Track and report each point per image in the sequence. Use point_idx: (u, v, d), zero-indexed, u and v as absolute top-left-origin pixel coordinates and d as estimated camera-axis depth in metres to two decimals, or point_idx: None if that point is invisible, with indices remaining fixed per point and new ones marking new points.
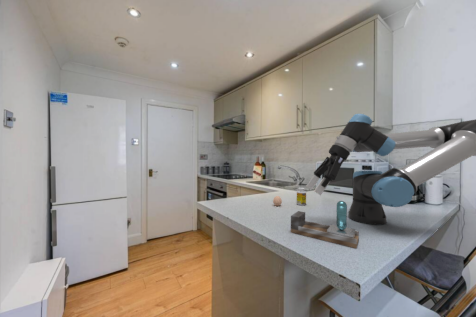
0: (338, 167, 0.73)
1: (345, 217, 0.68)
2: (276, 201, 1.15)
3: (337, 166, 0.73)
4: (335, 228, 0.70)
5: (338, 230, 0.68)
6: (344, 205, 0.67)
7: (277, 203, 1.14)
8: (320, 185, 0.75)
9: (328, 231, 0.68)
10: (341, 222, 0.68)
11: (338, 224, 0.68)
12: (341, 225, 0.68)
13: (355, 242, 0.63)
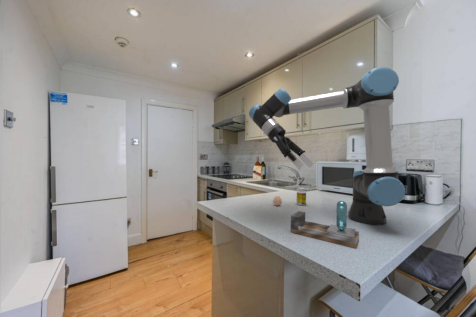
0: (280, 142, 0.77)
1: (345, 217, 0.68)
2: (276, 201, 1.15)
3: (279, 142, 0.77)
4: (335, 228, 0.70)
5: (338, 230, 0.68)
6: (344, 205, 0.67)
7: (277, 203, 1.14)
8: (293, 161, 0.74)
9: (328, 231, 0.68)
10: (341, 222, 0.68)
11: (338, 224, 0.68)
12: (341, 225, 0.68)
13: (355, 242, 0.63)
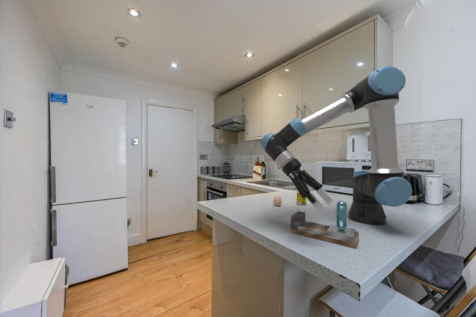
0: (297, 180, 0.70)
1: (345, 217, 0.68)
2: (276, 201, 1.15)
3: (296, 180, 0.70)
4: (335, 228, 0.70)
5: (338, 230, 0.68)
6: (344, 205, 0.67)
7: (277, 203, 1.14)
8: (313, 203, 0.67)
9: (328, 231, 0.68)
10: (341, 222, 0.68)
11: (338, 224, 0.68)
12: (341, 225, 0.68)
13: (355, 242, 0.63)
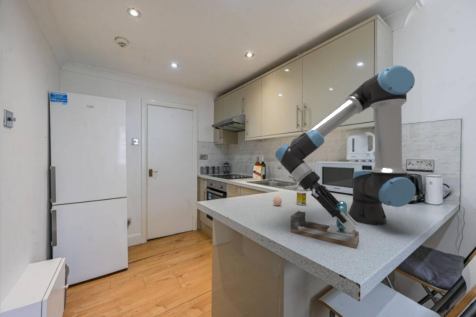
0: (324, 200, 0.67)
1: None
2: (276, 201, 1.15)
3: (322, 200, 0.67)
4: (335, 227, 0.71)
5: (338, 230, 0.68)
6: (344, 205, 0.67)
7: (277, 203, 1.14)
8: (343, 223, 0.66)
9: (328, 231, 0.68)
10: None
11: (338, 224, 0.68)
12: (341, 225, 0.68)
13: (355, 242, 0.63)
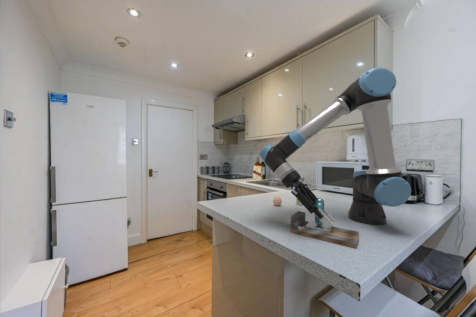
0: (302, 197, 0.71)
1: None
2: (276, 201, 1.15)
3: (301, 197, 0.72)
4: (314, 223, 0.75)
5: (316, 225, 0.73)
6: (321, 202, 0.72)
7: (277, 203, 1.14)
8: (320, 219, 0.71)
9: (307, 226, 0.73)
10: None
11: (316, 220, 0.73)
12: (318, 221, 0.72)
13: (355, 242, 0.63)
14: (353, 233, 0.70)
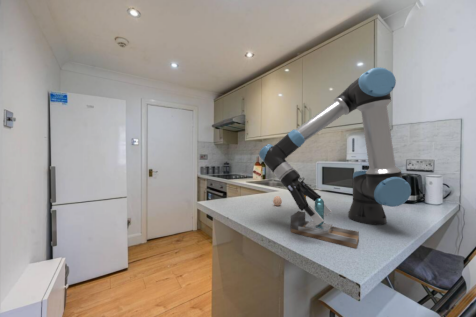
0: (295, 193, 0.71)
1: (322, 213, 0.72)
2: (276, 201, 1.15)
3: (294, 193, 0.71)
4: (313, 223, 0.75)
5: (316, 225, 0.73)
6: (321, 202, 0.72)
7: (277, 203, 1.14)
8: (311, 216, 0.68)
9: (306, 226, 0.73)
10: None
11: None
12: None
13: (355, 242, 0.63)
14: (353, 233, 0.70)
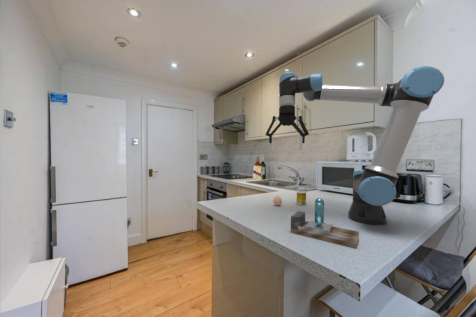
0: (270, 124, 0.94)
1: (322, 213, 0.72)
2: (276, 201, 1.15)
3: None
4: (313, 223, 0.75)
5: (316, 225, 0.73)
6: (321, 202, 0.72)
7: (277, 203, 1.14)
8: (271, 143, 0.96)
9: (306, 226, 0.73)
10: (318, 218, 0.72)
11: (316, 220, 0.73)
12: (318, 220, 0.72)
13: (355, 242, 0.63)
14: (353, 233, 0.70)
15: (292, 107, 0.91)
